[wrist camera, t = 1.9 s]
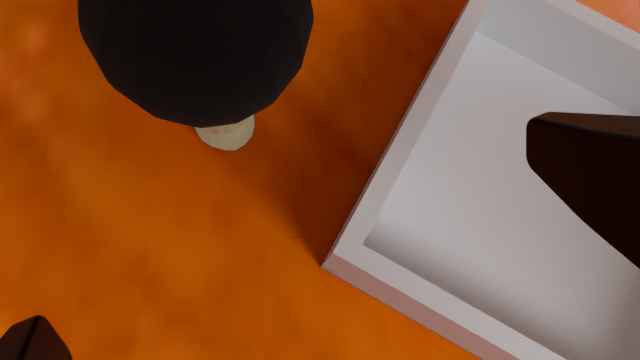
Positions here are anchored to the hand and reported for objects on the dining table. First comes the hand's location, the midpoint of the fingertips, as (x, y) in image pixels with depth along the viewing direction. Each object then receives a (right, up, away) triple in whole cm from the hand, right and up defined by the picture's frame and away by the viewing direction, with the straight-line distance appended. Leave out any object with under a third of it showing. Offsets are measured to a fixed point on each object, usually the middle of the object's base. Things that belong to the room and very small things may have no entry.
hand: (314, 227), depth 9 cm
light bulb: (-4, +3, +15) cm, 16 cm away
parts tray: (+10, 0, +15) cm, 18 cm away
